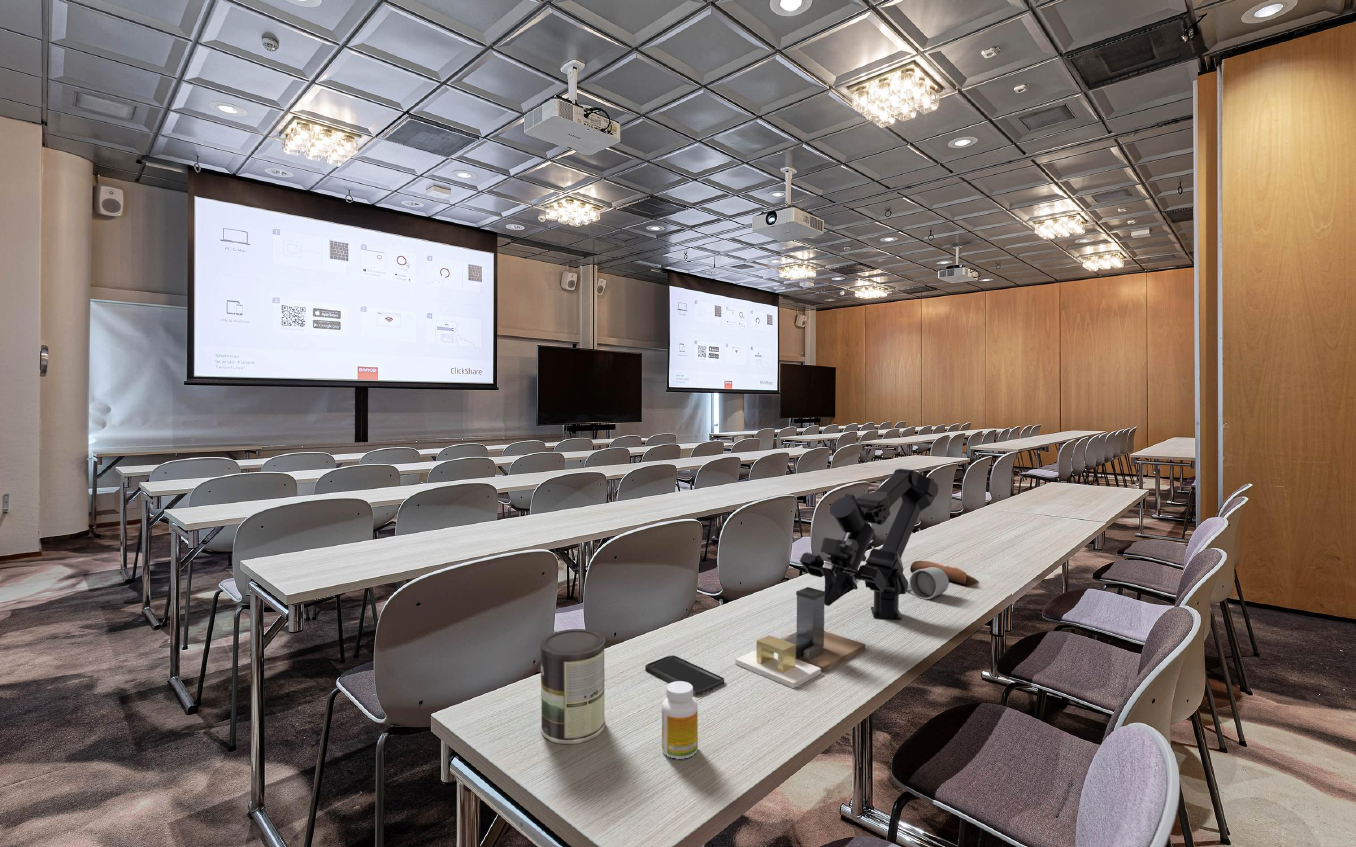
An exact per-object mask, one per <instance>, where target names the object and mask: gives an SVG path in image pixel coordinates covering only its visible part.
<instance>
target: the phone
mask: <svg viewBox="0 0 1356 847" xmlns="http://www.w3.org/2000/svg"><path fill="white" fill-rule="evenodd" d="M644 667H645V669H644V671H645V672H647V673H649V674H650V675H652V676H654V677H656V678H658V679H660V680H663V681H664V682H666V683H668V684H670V683H672V682H676V681H684V682H688V683H690V684H691V685H692V686H693V697H700V696H701V697H702V696H703V695H705V694H707V693H709V692H711V691H714V690H717V689H718V688H720V687H723V686H725V678H724V677H722V676H720V675H719V674H716V673H714V672H711V671H709V670H707V669H706V668H705V669H704V668H703V667H700V666H698V665H696V664H694V663H692V662H690V661H687V660H685V659H683V658H681V657H679V656H677V655H671V654H670V655H667V656H665V657H662V658H659V659H656V660H654V661H651V662H649V663H646V664H645V666H644Z"/></svg>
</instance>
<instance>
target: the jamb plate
mask: <svg viewBox="0 0 1356 847" xmlns="http://www.w3.org/2000/svg"><path fill="white" fill-rule="evenodd" d="M734 663H735V665H736V666H739V667H741V668H744V669H746V670H748V671H751V672H754V673H756V674H759V675H761V676H763V677H765V678H767V679H771V680H773V681H775V682H778V683H779V684H782V685H784V686H787V687H789V688H792V689H795V688H797V687H799V686H800V685H801V686H802V684H805V683H806V682H808V681H810V680H811V679H813V678H815V677H817V676H819V675H820V674H822V672H821V668H819V667H816V666H814V665H811V664H808V663H806V662H803V661H800V660H798V659H796V666H795V667H793V668H792V669H790V670H788V671H786V672H784V673H782V672H780V671H778V654H777V653H775V652H774V658H773V659H771V660H769V661H767V662H765V663H763V664H760V663H757V662H756V649H755V650H752V651H750V652H748V653H746V654H743V655H741V656H740V657H737V658H735V662H734Z"/></svg>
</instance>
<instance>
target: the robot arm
mask: <svg viewBox="0 0 1356 847" xmlns="http://www.w3.org/2000/svg"><path fill="white" fill-rule="evenodd" d="M938 493H939V485H938V483H936V481H935V480H934V479H933V478H930V477H928V476H925V475H923V474H920V472H918V471H915V469H909V468H907V469H906V468H898V469H895V470H894V472H893V474H892V475H891V476H890V477H889V478H887V480H886V481H884V482H883V484H881V485H880V486H879V487H878V488H877V489H876V490H875V491H872V492H869V493H863V494H862V495H860V496H858V497H855V494H850V493H845V494H844V495H843V496H842V497H841V498H840V497H839V498H838V499H836V500H835V501H834V502H832V503H831V505H830V507H829V513H830V515H831V516H832V518H833V519H834V521H835V523H836V524H837V526H838V527H839V529H840V530H841V531H842V532H844V534H843V536H842V539H839V538H838V539H836V538H829V537H825V536H824V537H823V539H822V542H821V543H822V544H821V547H820V553H823V554H824V553H825V554H827V555H826V558H827V560H828V561H826V560H823V558H822V557H821V555H820V554H816V553H812V552H803V554H802V555H801V557H800V559H799V562H800V564H801V565H802V567H803V568H804V569H805V571H806V573H808V575H810V576H812V577H813V576H814V577H818V578H823V577H824V591H825V596H824V606H826V607H830V606H831V605H832V604H834V603H835V602H837V601H838V600H839V599H840V598H842V597H843V596H844V595H846V594H848V593H850V592H851V591H853V590H858V588H859V586H858V583H859V581H863V582H864V585H865V588H867V589H868V588H869V590H870V591H873V606H871V607H870V610H871V614H872V617H873V618H876V619H891V620H902V618H903V617H902V614H901V612H900V609H899V598H900V596H899V595H906V594H907V592H908V591H907V589H908V584H909V581H908V579H907V578H906V576H905V574H904V566H903V561H902V557H903V554H904V552H905V549H906V547H907V546H908V542H909V541H910V538H911V535H912V533H913V530H914V528H915V526H916V523H917V522H918V521H917V520H918V519H919V516H920V514H921V512H922V511H924V510H925V509H927V508H928V507H930V506H931V505H932V503H933V502H934V501H935V498H936V497H937V496H938ZM900 498H901V501H902V502H901V504H900V506H899V508H898V511H897V513H896V515H895V517H894V519H893V522H892V524H891V526H890V529H889V531H888V533H887V535H886V538H885V539H884V542H883V545H882V546H881V548H875V547H874V548H872V549H871V550H870V552H869V555H868V557H867V555H866V551H867V549H868V547H869V546H870V544H871V541H874V542H876V541H877V534H876V532H875V528H873V527H872V525H877V526H882V525H883V524H885V523H886V521H887V520H888V518H889V517H890V515H891V509H890V508H891V507H892V506H893V505H894V504H895V503H896V502H897V501H898V500H899V499H900ZM871 524H872V525H871ZM862 562H863V563H864V562H865V564H862Z"/></svg>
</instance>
